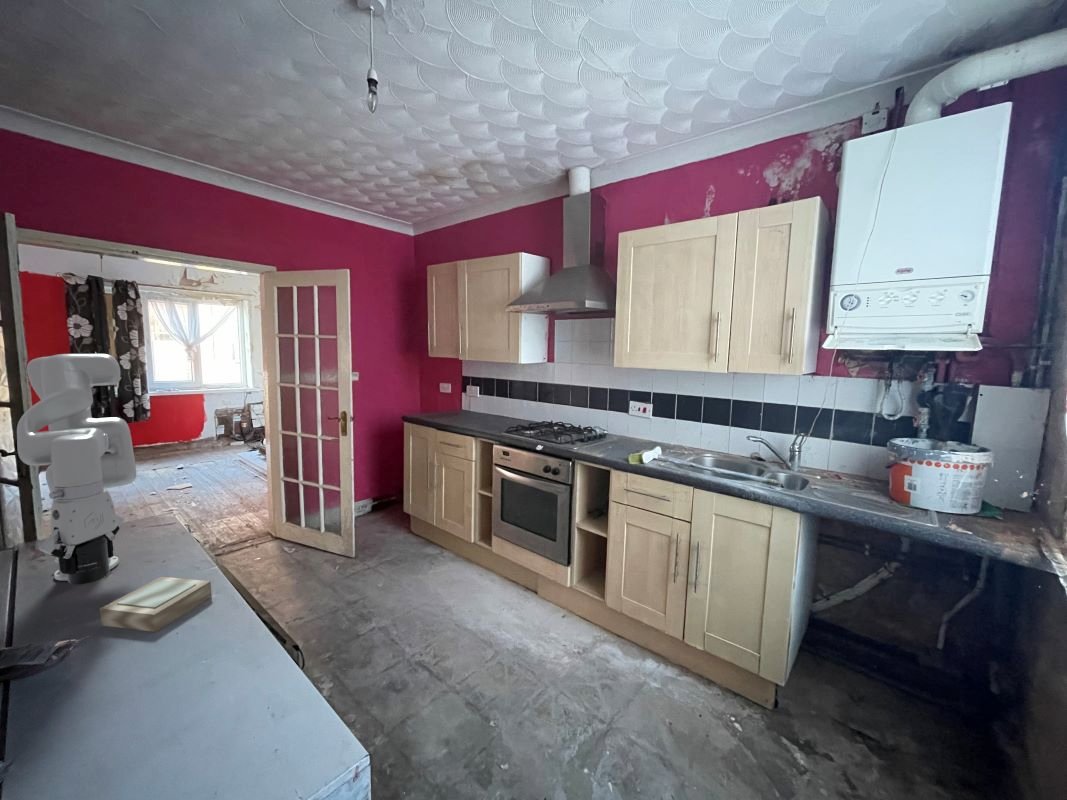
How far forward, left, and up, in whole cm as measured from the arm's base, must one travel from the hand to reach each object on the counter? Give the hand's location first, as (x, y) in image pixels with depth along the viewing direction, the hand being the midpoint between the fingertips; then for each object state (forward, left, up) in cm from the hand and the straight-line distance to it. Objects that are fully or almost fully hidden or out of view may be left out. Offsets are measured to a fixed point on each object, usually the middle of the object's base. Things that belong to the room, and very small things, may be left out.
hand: (88, 564), depth 102 cm
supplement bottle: (0, 0, -4) cm, 4 cm away
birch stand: (+14, +4, -12) cm, 19 cm away
